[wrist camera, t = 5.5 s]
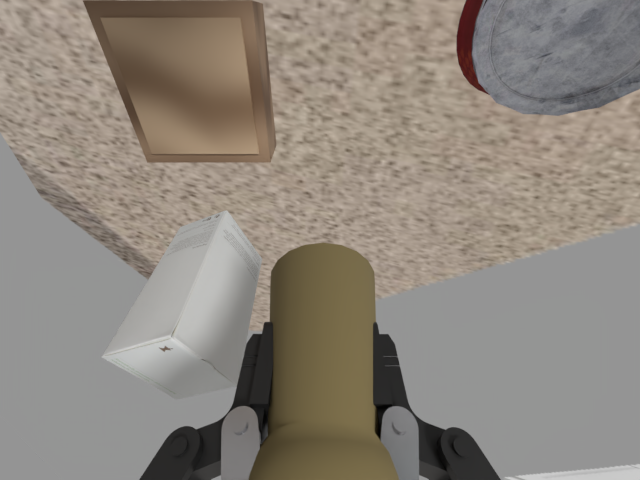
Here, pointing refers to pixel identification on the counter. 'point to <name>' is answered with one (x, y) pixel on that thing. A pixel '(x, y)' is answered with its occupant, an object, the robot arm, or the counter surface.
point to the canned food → (551, 52)
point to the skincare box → (192, 312)
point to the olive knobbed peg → (322, 370)
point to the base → (191, 76)
